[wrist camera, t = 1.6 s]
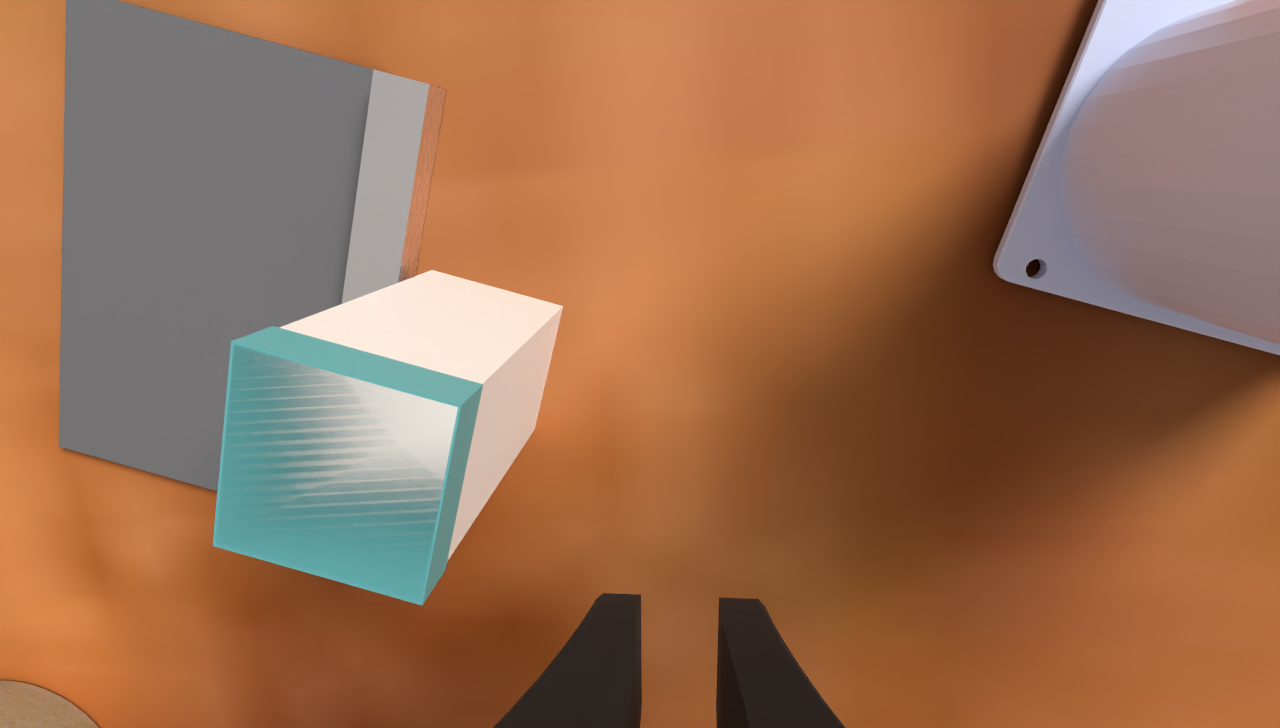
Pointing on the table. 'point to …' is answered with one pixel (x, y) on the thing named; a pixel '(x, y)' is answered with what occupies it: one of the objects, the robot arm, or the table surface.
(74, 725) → the plant pot
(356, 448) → the tall block
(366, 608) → the table surface
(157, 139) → the mat
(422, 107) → the stop rail
